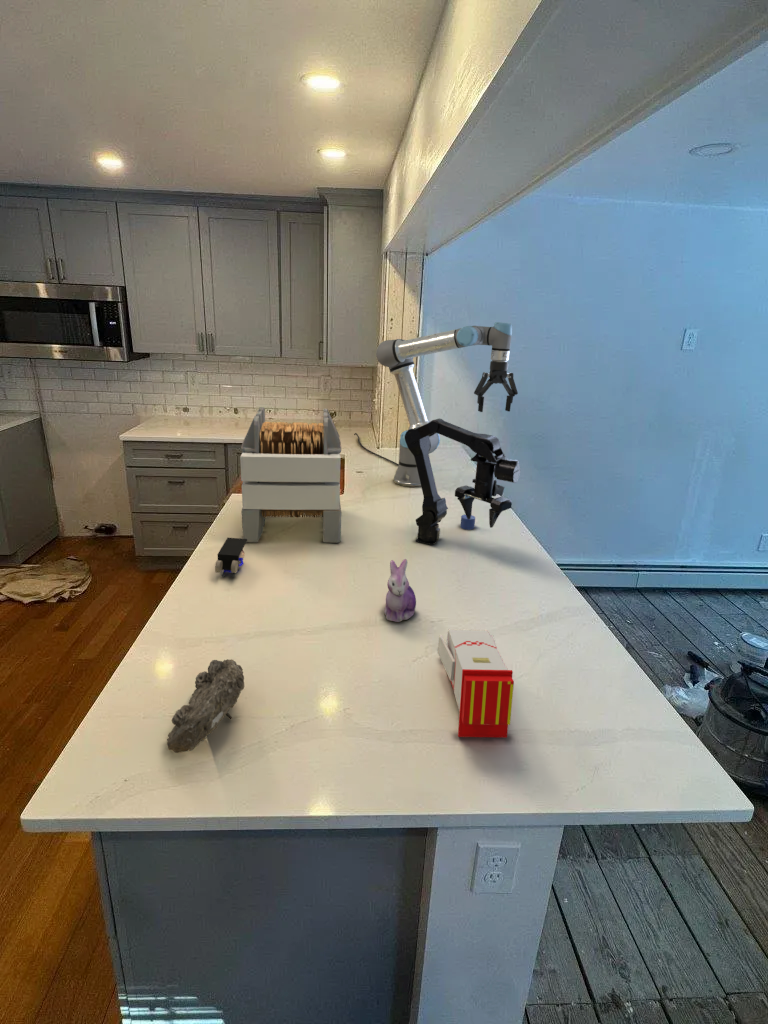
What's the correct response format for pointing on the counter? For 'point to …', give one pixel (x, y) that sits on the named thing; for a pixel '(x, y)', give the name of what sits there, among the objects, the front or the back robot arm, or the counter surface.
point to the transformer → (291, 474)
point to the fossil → (206, 705)
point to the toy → (478, 682)
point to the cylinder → (467, 522)
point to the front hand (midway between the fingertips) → (479, 523)
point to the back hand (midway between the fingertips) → (494, 411)
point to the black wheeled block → (230, 556)
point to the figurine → (399, 594)
